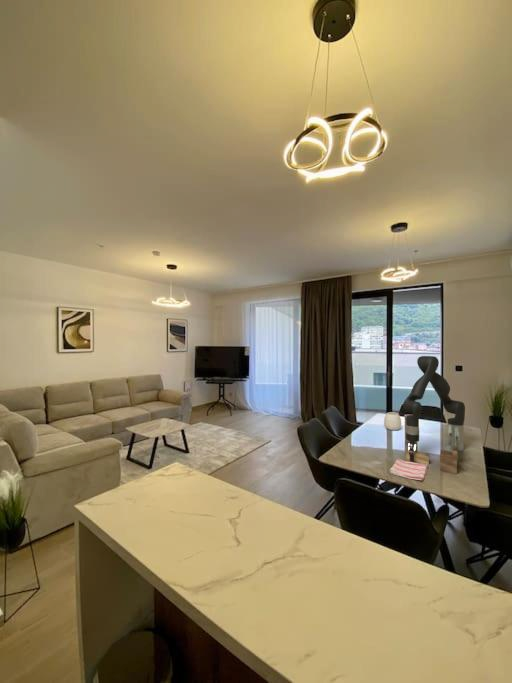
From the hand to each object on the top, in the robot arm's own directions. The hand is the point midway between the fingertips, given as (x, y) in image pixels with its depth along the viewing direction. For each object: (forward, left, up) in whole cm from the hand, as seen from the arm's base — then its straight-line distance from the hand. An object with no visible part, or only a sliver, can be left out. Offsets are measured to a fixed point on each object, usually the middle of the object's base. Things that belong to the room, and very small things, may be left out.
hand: (412, 458), depth 187 cm
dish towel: (+18, 0, -2) cm, 18 cm away
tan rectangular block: (0, +3, -1) cm, 3 cm away
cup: (-64, -21, -1) cm, 67 cm away
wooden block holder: (+4, +19, -1) cm, 19 cm away
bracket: (-13, +21, -1) cm, 25 cm away
